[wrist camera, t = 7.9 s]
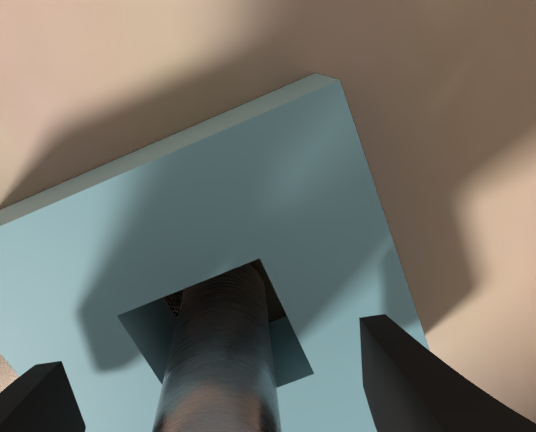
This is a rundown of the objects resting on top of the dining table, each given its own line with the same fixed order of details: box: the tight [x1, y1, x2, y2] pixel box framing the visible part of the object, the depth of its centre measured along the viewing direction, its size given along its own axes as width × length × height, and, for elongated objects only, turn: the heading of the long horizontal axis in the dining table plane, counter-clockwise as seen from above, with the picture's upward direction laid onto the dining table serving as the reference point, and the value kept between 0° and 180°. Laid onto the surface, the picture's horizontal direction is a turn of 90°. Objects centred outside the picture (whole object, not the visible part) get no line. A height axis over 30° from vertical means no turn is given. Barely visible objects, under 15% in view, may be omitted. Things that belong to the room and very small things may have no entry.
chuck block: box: [0, 73, 430, 432], centre depth 12 cm, size 10×10×3 cm
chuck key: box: [152, 263, 282, 432], centre depth 9 cm, size 3×3×10 cm
